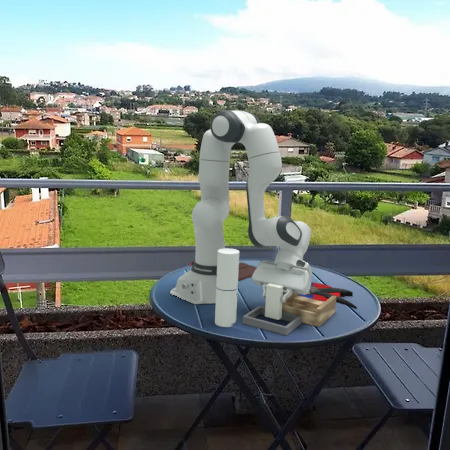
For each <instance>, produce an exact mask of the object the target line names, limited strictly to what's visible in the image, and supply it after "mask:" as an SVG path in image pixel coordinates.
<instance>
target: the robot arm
mask: <svg viewBox="0 0 450 450" xmlns="http://www.w3.org/2000/svg"><path fill="white" fill-rule="evenodd" d="M235 144H236V145H241V144H242V145H243V146H244V147H245V151H246V156H247V160H248V177H247V179H246V186H245V189H246V191H245V192H246V200H247V213H248V227H247V228H248V229H247V235H248V239H249V241H250V242H251V244H252V245H253V246H254V247H256V248H258V249H264V248H268V247H272V246H277V247H279V250H278V252H277V255H276V256H275V259H274V261H273V260H268V259H267V260H266V259H264V260H261V261H259V262H258V264H257V266H256V267H257V268H256V270H255V271H254V273H253V275H252V277H251V280H252V282H253V284H254V285H257V286H261V287H262V289H263V293H262V298H264V299H266V285H267V284H269V283H271V284H276V285H280V286H283V290H284V291H287V293H286V294H285V295H284V296H283V295H281V298H280V301H281V302H283V303H285V302H286V299H287V298H289V297H290V296H291V295H292V293H298V294H302V295H306V294H308V293H309V290H310V286H311V282H312V278H311V277H312V276H313V271H312V268H311V265H310V264H309V262H306V261H305V260H304V255H305V254H306V253H307V251H308V248H309V245H310V242H311V236H312V230H311V227H310V226H309V225H308V224H307V223H305V222H303V221H302V220H293V218H291V217H290V216H288V215H280V216H275V217H270V218H267V217H266V216H265V215H266V214H265V213H266V211H265V202H264V194H265V192H266V190H267V188H269V185H271V184H272V183H273V182H274V181H276V179H277V178H278V177H279V176H280V173H281V172H282V169H283V168H282V167H283V160H282V157H281V153H280V152H281V151H280V147H279V145H278V141H277V137H276V135H275V132H274V130H273V128H272V127H271V126H270V125H269V124H267V123H265V122H261V121H260V119H259V117H258V116H257V115H256V114H254V113H253V112H249V111H243V110H239V109H236V110H228V109H224V110H220V111H218V112H217V113H215V114H214V115H213V116H212V118H211V120H210V125H209V129H208V130H206V131H205V132H204V134H203V136H202V139H201V144H200V145H201V146H200V150H199V151H200V152H199V160H198V161H199V164H198V166H199V167H198V183H199V188H200V201H198V202H197V203H196V204H195V206H194V207H193V209H192V212H191V221H192V223H193V231H194V237H195V238H194V239H195V259H194V260H193V261H192V262H189V266H188V267H191V269H190V270H188V271H186V272H185V273H184V274H182V275H180V277H179V278H178V279H177V282H176V284H175V287H174V288H172V289H171V290H170V293H169V295H170V294H172V295H171V296H173V295H175V296H177V297H176V298H178V297H179V298H178V299H180V298H181V300H183V301H185V300H186V302H189V303H191V304H193V305H201V304H216V281H217V256H218V250H219V249H225V248H226V241H225V238H224V237H225V235H224V221H225V220H227V218H228V216H229V214H230V210H231V209H230V188H229V181H230V179H229V178H230V177H229V176H230V166H231V165H230V163H231V161H230V160H231V149H232V147H233V146H234V145H235ZM175 296H174V297H175Z"/></svg>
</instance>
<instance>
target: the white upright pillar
mask: <svg viewBox="0 0 450 450" xmlns="http://www.w3.org/2000/svg"><path fill="white" fill-rule="evenodd" d="M281 295H283V286H280V285H276V284H271V283H269V284H267V285H266V298H265V303H264V304H265V306H264V307H265V315H264V317H266V318H270V319H273V320H281V319H280V318H282V302H281V301H280V298H281Z"/></svg>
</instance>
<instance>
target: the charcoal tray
mask: <svg viewBox="0 0 450 450" xmlns="http://www.w3.org/2000/svg"><path fill="white" fill-rule="evenodd" d="M260 315H263V316H265V306H262V305H258V306H257V307H256V308H254V309H252V310H251V311H249V312H247V313H246V314H244V315H243V316H242V324H243V325H246V326H250V327H253V328H257V329H260V330H261V329H262V330H264V331H268V332H272V333H276V334H279V335H283V336H288V335H290V334H291V333H292V332H293V331H294V330H295V329H297V328H298V327H299V326H300V325H301V324H302V322H301V321H302V316H298V315H294V314H290V313H286V312H282V318H280V319H279V320H283V321H286V322H289V323H287V325H283V324H278V323H275V322H270V321H267V320H263V319H259V318H256V317H258V316H260Z"/></svg>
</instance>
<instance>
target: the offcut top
mask: <svg viewBox="0 0 450 450" xmlns="http://www.w3.org/2000/svg"><path fill="white" fill-rule="evenodd" d="M324 302H325V301H318V300H314V299H310V298H306V297H303V296H297V297H295V298H294V303H298V304H301V305H305V306H309V307H313V308H316V309H317V308H318V307H319V306H320V305H322V304H323V303H324Z"/></svg>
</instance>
